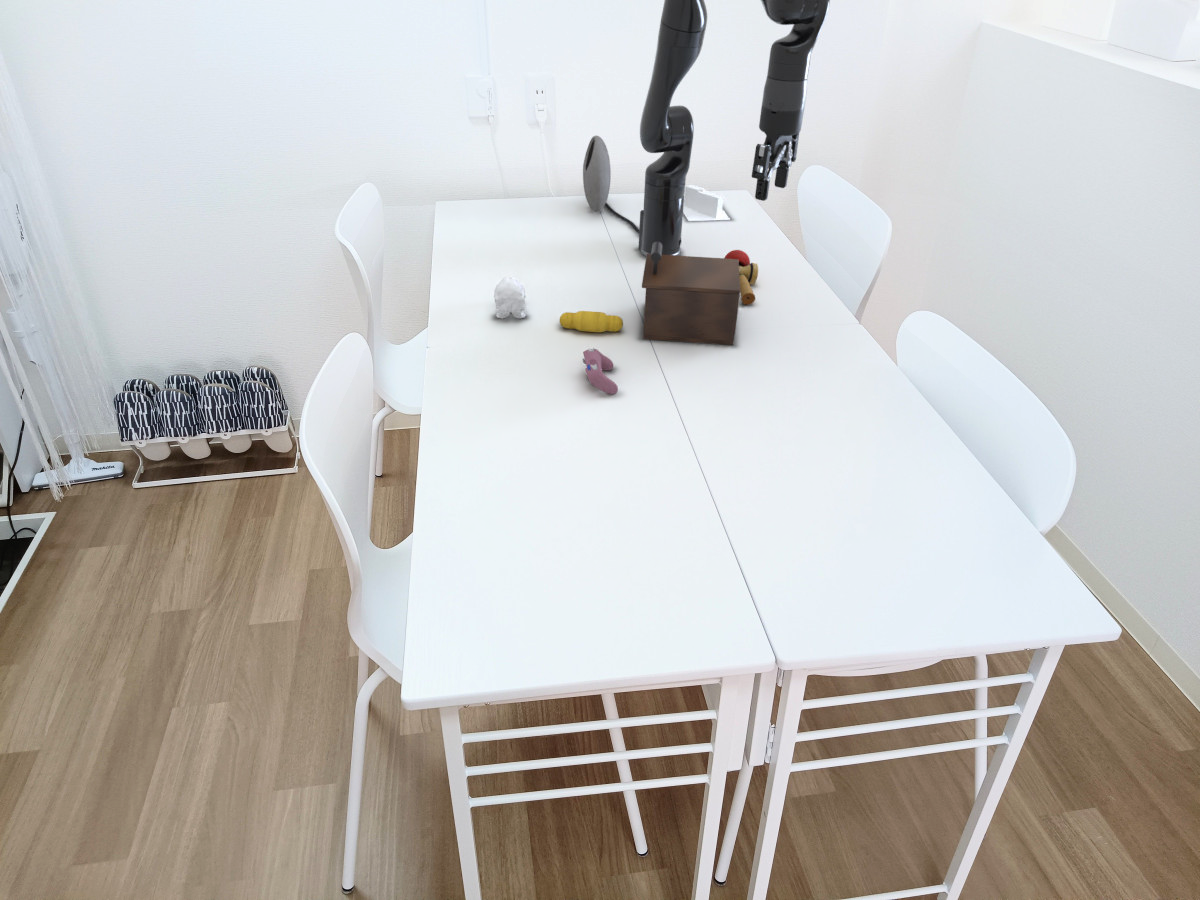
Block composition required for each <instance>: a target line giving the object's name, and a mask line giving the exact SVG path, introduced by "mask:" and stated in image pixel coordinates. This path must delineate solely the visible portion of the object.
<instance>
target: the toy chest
mask: <svg viewBox="0 0 1200 900" xmlns="http://www.w3.org/2000/svg"><path fill="white" fill-rule="evenodd" d="M740 298H741V294H729V293H714V292H699V291H683V290H668V289H653V288H645V298H644V313H643V314H644V315H643V316H644V317H643V334H642V339H643V340H649V341H663V342H664V341H665V342H666V341H667V342H681V343H682V342H683V343H694V344H708V345H709V344H710V345H724V346H734V343H735V335H736V327H737V320H738V311H739V305H740V304H739V303H740Z"/></svg>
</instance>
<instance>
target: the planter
mask: <svg viewBox="0 0 1200 900" xmlns="http://www.w3.org/2000/svg"><path fill="white" fill-rule="evenodd" d="M611 171H612V170H611V160H610V155H609V151H608V148H607V145H606V143H605V141H604V139H603V138H602V137H600V136H599V135H594V136H592V137H591V138H590V140H589V143H588V146H587V148H586V151H585V156H584V159H583V165H582V182H583V183H582V184H583V191H584V195H585V200H586V202H587V204H588V206H589V208H590V209H591V211H593V212H594V213H600V212H601V211H602V210H603V209H604V207H606V206H605V204H606V203H607V201H608V198H609V194H610V189H611V178H612V177H611V175H612V174H611Z"/></svg>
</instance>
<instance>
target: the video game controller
mask: <svg viewBox="0 0 1200 900" xmlns="http://www.w3.org/2000/svg"><path fill="white" fill-rule="evenodd" d="M582 354H583V358H582V363H583V364H584V365H585V369H584V371H585V374H586V377H587V379H588V381H589V383H590V385H592V386H595V388H597V389H598V390H600V391H602V392H603V393H605V394H609V395H615V394H617V393H618V391H619V388H618V385H617V384H616V383H615V382H614V381H613V380H612V379H610V378H609V377H607V375H606V374H604V373H603V370H604V371H611V370H613V368H614V362H613V361H612V360H611V358H609V357H608V356H606V355H605V354H603V353H602V352H601V351H600V350H599V349H597V348H595V347H593V348H588V349H586V350H584V351H582Z"/></svg>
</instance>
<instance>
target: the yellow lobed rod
mask: <svg viewBox="0 0 1200 900" xmlns="http://www.w3.org/2000/svg"><path fill="white" fill-rule="evenodd" d="M559 324H560V326H561V327H562V328H564V329H568V330H569V329H570V330H576V331H579V332H589V333H603V332H614V333H615V332H619V331H621V330H622V328H623V326H624V321H623V319H622V318H621V317H620V316H619V315H615V314H614V315H612V314H607V313H605V312H603V311H590V310H578V311H577V312H571V311H569V312H568V311H566V312H563V313H562V314H561V315H560V316H559Z"/></svg>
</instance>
